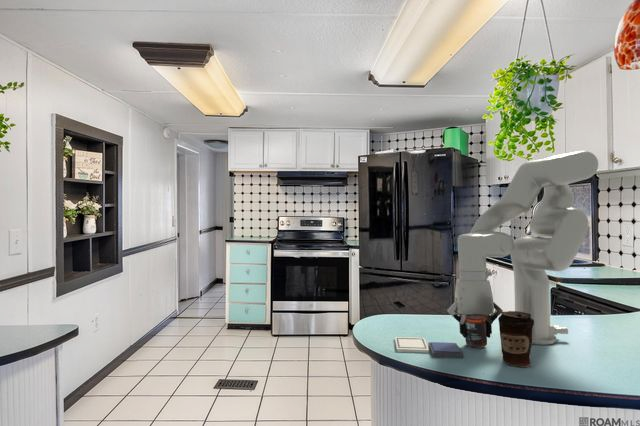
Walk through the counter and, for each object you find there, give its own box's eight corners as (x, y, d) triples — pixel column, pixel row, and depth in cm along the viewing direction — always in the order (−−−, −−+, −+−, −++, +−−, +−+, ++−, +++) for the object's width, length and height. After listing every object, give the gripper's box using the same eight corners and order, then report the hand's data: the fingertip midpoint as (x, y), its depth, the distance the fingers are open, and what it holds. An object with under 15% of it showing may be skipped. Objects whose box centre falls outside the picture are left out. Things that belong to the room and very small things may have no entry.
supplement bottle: (483, 340, 110) (481, 303, 110) (490, 348, 105) (488, 308, 104) (462, 340, 111) (461, 304, 111) (468, 348, 105) (466, 309, 105)
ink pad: (456, 347, 107) (456, 342, 107) (463, 358, 99) (462, 352, 99) (428, 346, 108) (428, 341, 108) (432, 357, 100) (432, 351, 100)
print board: (424, 340, 113) (424, 337, 113) (429, 352, 104) (429, 349, 104) (394, 339, 115) (394, 336, 115) (396, 351, 105) (396, 348, 105)
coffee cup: (534, 373, 90) (533, 320, 90) (497, 365, 94) (496, 315, 94) (535, 360, 97) (534, 311, 97) (500, 354, 101) (500, 307, 101)
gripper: (499, 272, 110) (502, 331, 110) (440, 274, 113) (443, 331, 113) (508, 277, 103) (511, 340, 103) (445, 278, 105) (448, 340, 105)
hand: (475, 335), depth 108 cm, fingers closed on supplement bottle, 6 cm apart
